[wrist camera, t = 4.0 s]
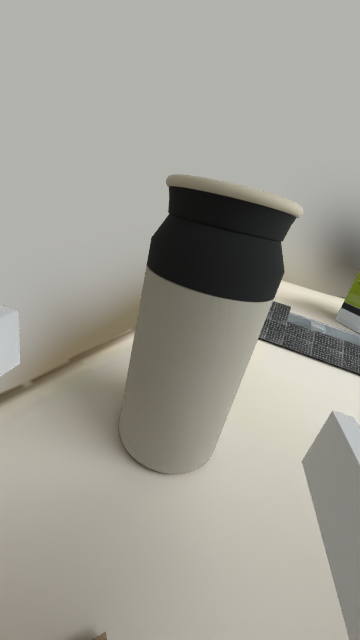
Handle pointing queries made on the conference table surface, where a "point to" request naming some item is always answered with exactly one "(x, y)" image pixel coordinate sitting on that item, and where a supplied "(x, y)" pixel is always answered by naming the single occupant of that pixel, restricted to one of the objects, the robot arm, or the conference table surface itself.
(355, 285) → the tea box
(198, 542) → the conference table surface
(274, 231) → the travel mug
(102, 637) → the cork mat
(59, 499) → the conference table surface
